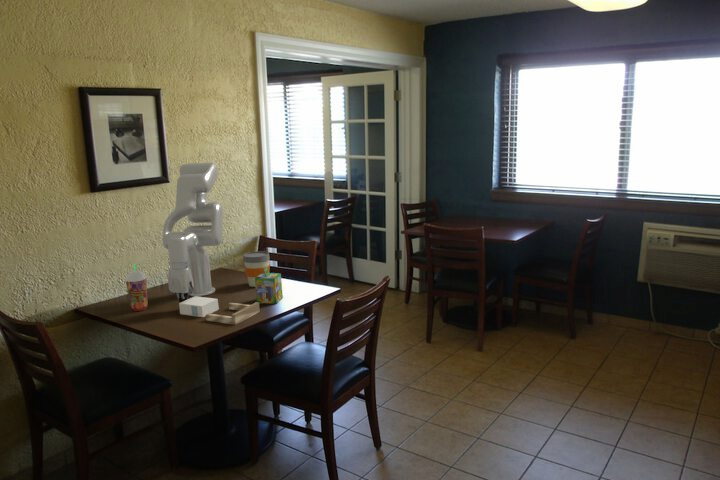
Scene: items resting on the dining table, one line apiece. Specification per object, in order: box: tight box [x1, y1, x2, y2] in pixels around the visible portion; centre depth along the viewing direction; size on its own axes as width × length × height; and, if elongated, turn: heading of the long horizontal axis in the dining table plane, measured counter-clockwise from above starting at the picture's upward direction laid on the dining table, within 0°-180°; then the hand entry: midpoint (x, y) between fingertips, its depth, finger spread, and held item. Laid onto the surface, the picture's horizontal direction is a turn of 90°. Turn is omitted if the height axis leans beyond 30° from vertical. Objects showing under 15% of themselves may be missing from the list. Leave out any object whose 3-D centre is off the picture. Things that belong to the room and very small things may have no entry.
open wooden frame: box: [205, 301, 261, 325], centre depth 233 cm, size 14×16×4 cm
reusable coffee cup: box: [242, 250, 271, 288], centre depth 276 cm, size 13×13×15 cm
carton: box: [178, 296, 220, 318], centre depth 240 cm, size 12×10×5 cm
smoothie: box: [125, 263, 149, 312], centre depth 244 cm, size 8×8×20 cm
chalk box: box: [255, 267, 284, 305], centre depth 250 cm, size 9×9×15 cm
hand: (183, 306), depth 243 cm, fingers closed
